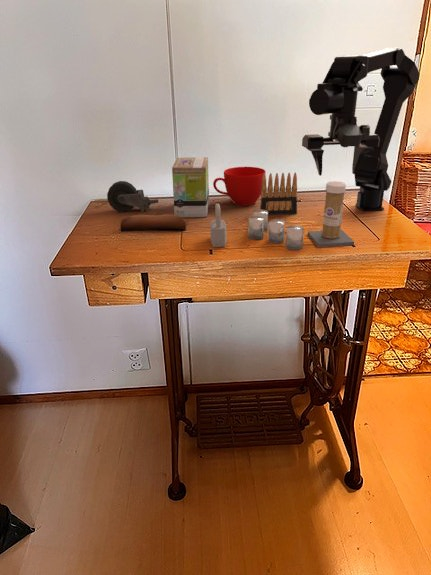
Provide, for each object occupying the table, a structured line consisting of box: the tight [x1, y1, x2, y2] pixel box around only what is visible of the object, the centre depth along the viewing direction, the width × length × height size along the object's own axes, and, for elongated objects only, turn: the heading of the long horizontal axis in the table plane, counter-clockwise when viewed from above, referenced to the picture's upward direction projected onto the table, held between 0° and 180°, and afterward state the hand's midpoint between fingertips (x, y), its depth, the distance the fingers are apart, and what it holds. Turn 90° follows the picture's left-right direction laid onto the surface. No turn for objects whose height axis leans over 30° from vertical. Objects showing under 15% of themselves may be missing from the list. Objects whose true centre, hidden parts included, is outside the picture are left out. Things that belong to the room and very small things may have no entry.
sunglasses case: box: [120, 213, 188, 232], centre depth 124 cm, size 18×7×7 cm
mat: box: [307, 228, 355, 248], centre depth 113 cm, size 9×9×1 cm
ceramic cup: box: [212, 166, 266, 207], centre depth 140 cm, size 13×17×10 cm
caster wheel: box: [106, 180, 159, 213], centre depth 137 cm, size 6×10×15 cm
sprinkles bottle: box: [321, 180, 347, 239], centre depth 109 cm, size 5×5×13 cm
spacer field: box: [247, 209, 305, 251], centre depth 113 cm, size 12×18×5 cm
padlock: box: [209, 202, 227, 248], centre depth 111 cm, size 7×4×10 cm, turn 2°
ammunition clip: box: [259, 172, 298, 216], centre depth 130 cm, size 11×2×12 cm, turn 90°
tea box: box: [171, 156, 210, 218], centre depth 134 cm, size 15×10×15 cm
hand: (336, 174), depth 119 cm, fingers open, 9 cm apart
